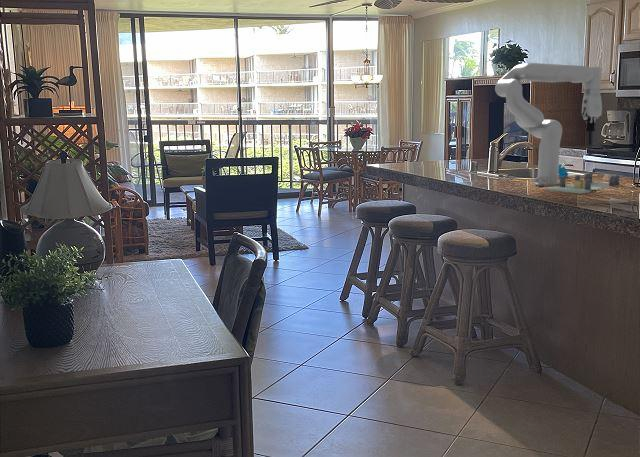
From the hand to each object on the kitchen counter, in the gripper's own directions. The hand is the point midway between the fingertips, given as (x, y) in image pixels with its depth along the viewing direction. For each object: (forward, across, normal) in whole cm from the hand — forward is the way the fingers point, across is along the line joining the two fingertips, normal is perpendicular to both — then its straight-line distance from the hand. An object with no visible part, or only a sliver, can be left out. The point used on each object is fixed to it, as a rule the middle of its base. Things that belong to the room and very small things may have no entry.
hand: (590, 131), depth 334 cm
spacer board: (+25, -18, -11) cm, 33 cm away
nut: (+24, -23, -13) cm, 36 cm away
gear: (+26, +9, +23) cm, 36 cm away
